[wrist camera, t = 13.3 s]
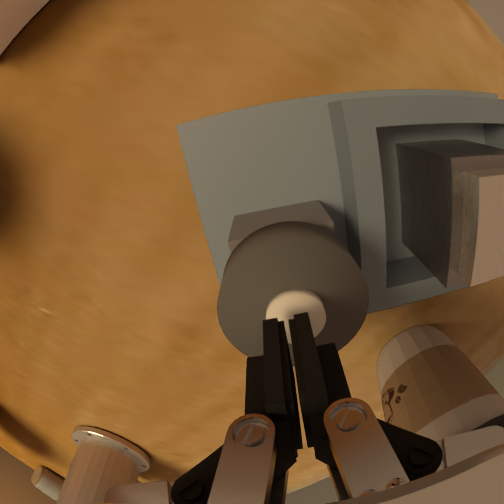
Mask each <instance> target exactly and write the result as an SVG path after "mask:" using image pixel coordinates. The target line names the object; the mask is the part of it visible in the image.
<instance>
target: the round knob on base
mask: <svg viewBox="0 0 504 504" xmlns="http://www.w3.org/2000/svg"><path fill="white" fill-rule="evenodd" d="M368 306H369V290H368V286H367V282H366V279H365V277H364V275H363V273H362V271H361V270H360V268H359V266H358V265H357V263H356V261H355V260H354V258H353V257H352V255H351V253H350V252H349V250H348V249H347V247H346V246H345V244H344V243H343V242H342V241H341V240H340V239H339V238H338V237H337V236H336V235H334V234H333V233H332V232H330V231H329V230H327V229H325V228H323V227H321V226H318V225H315V224H312V223H308V222H301V221H285V222H278V223H274V224H270V225H267V226H265V227H262V228H260V229H258V230H256V231H254V232H252V233H251V234H250V235H248V236H247V237H245V238H244V239H243V240H242V241H241V242H240V243H239V244H238V245H237V246H236V248H235V249H234V250H233V251H232V253H231V255H230V257H229V258H228V261H227V263H226V266H225V269H224V273H223V278H222V282H221V287H220V292H219V296H218V302H217V313H218V319H219V323H220V326H221V328H222V330H223V332H224V334H225V336H226V337H227V339H228V340H229V341H230V342H231V344H232V345H233V346H234V347H236V348H237V349H238V350H239V351H240V352H242V353H243V354H245V355H246V356H248V357H254V356H261V355H263V320H266V319H272V318H278V321H283V320H284V325H285V330H286V335H287V340H288V345H289V350H290V356H291V361H292V366H295V363H294V356H293V349H292V342H291V335H290V328H289V322H288V320H289V319H294V316H293V315H294V314H300V313H305V312H308V315H309V319H310V323H311V327H312V331H313V335H314V339H315V344H316V346H318V345H323V344H328V343H333V342H334V343H335V345H336V348H337V351H339V350H340V349H342V348H343V347H344V346H345V345H346V344H348V343H349V342H350V341H351V340H352V338H353V337H354V336H355V335H356V334H357V332H358V331H359V329H360V328H361V326H362V324H363V322H364V320H365V317H366V315H367V311H368Z"/></svg>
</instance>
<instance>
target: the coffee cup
mask: <svg viewBox="0 0 504 504" xmlns="http://www.w3.org/2000/svg"><path fill="white" fill-rule="evenodd" d="M377 378H378V383H379V388H380V394H381V399H382V405H383V411H384V417H385V422H387V423H389V424H392V425H394V426H397V427H400V428H402V429H405V430H408V431H410V432H413V433H416V434H419V435H421V436H424V437H427V438H430V439H432V440H434V441H437V440H442V439H443V437H446V436H451V435H456V434H461V433H465V432H469V431H474V430H478V429H482V428H485V427H489V426H496V425H497V426H500V427H503V428H504V399H503V398H502V397H501V396H500V395H499V393H498V392H497V391H496V390H495V389H494V387H493V386H492V385H491V384H490V383H489V382H488V380H487V379H486V378H485V377H484V376H483V375H482V374H481V373H480V371H479V370H478V369H477V368H476V367H475V366H474V365H473V364H472V363H471V361H470V360H469V359H468V358H467V357H466V356H465V355H464V354H463V353H462V352H461V351H460V349H459V348H458V347H457V346H456V345H455V344H454V343H453V342H452V341H451V340H450V339H449V338H448V337H447V336H446V335H445V334H444V333H443V332H442V331H441V330H438V329H437V328H435V327H434V326H430V325H417V326H414V327H411V328H409V329H406V330H404V331H403V332H401V333H399V334H398V335H396V336H395V337H394V338H393V339H392V340H390V341H389V342H388V343H387V344H386V345H385V347H384V348H383V350H382V351H381V353H380V355H379V358H378V361H377Z"/></svg>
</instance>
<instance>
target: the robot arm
mask: <svg viewBox="0 0 504 504" xmlns="http://www.w3.org/2000/svg"><path fill="white" fill-rule="evenodd" d="M293 316H294V319H289V320H288V322H289V328H290V335H291V342H292V349H293V356H294V363H295V371H296V378H297V385H298V393H299V400H300V406H301V412H302V417H303V423H304V429H305V434H306V440H307V446H308V448H309V447H314V450H315V457H316V459H318V460H320V461H322V462H324V463H325V464H327V468H328V471H329V474H330V476H331V479H332V482H333V485H334V488H335V490H336V493H337V496H338V499H339V501H338V502H333V503H328V504H504V428H503V427H500V426H497V425H496V426H489V427H485V428H482V429H478V430H474V431H469V432H465V433H461V434H456V435H451V436H446V437H443V439H442V440H437V441H434V440H432V439H430V438H427V437H424V436H421V435H419V434H416V433H413V432H410V431H408V430H405V429H402V428H400V427H397V426H394V425H392V424H389V423H387V422H384V421H382V420H379V419H377V418H376V417H375V415H374V413H373V411H372V409H371V408H370V406H369V405H368V404H367V403H366V402H364V401H362V400H360V399H357V398H351V395H350V391H349V388H348V384H347V381H346V378H345V374H344V371H343V368H342V364H341V361H340V358H339V355H338V351H337V348H336V345H335V343H334V342H333V343H328V344H323V345H318V346H316V344H315V339H314V335H313V331H312V327H311V323H310V319H309V315H308V312H305V313H300V314H294V315H293ZM72 439H73V441H74V442H75V444H76V445H77V446H78V448H77V451H76V453H75V456H74V458H73V460H72V463H71V465H70V468H69V471H68V473H67V476H66V478H65V481H64V484H63V486H62V489H61V492H60V494H59V497H58V500H57V503H56V504H285V498H286V490H287V482H288V474H289V471H288V469H289V468H290V467H291V466H292V465H293V464H294V463H295V462H296V461H297V460H296V457H298V454H297V449H303V445H302V436H301V427H300V419H299V410H298V402H297V394H296V386H295V378H294V372H293V366H292V361H291V356H290V350H289V345H288V340H287V335H286V330H285V325H284V320H283V321H278V318H272V319H266V320H263V355H261V356H254V357H248V358H247V368H246V395H245V415H244V416H241V417H239V418H238V419H236V420H234V421H233V423H232V424H231V425H230V426H229V428H228V430H227V434H226V437H225V441H224V444H223V445H222V446H221V447H220V448H218V449H217V450H216V451H215V452H213V453H212V454H211V455H209V456H208V457H207V458H205V459H204V460H203V461H202V462H200V463H199V464H197V465H196V466H195V467H193V468H192V469H191V470H189V471H188V472H187V473H185V474H184V475H182V476H181V477H180V478H178V479H177V480H176V481H175V482H168V481H167V480H165V481H157V482H147V483H141V482H140V481H138V480H137V479H138V475H139V473H141V472H145V471H147V470H148V469H149V467H150V463H151V462H150V459H149V457H148V456H147V455H146V454H145V453H144V452H143V451H142V450H141V449H139V448H138V447H137V446H135V445H134V444H132V443H130V442H128V441H127V440H125V439H123V438H121V437H119V436H117V435H114V434H112V433H109V432H107V431H104V430H101V429H97V428H94V427H88V426H80V427H76V428H75V429H74V431H73V433H72Z"/></svg>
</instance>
